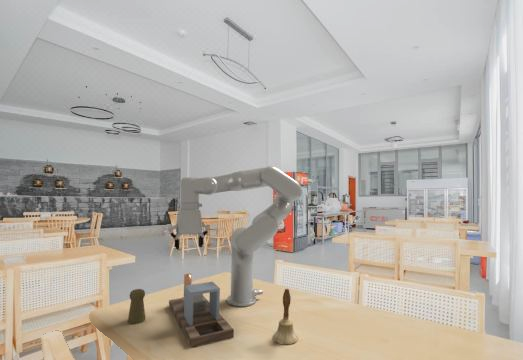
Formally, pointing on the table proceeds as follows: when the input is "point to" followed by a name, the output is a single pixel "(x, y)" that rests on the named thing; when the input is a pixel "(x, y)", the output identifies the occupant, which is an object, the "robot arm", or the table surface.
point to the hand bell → (285, 324)
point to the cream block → (197, 298)
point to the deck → (201, 325)
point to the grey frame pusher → (196, 305)
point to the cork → (136, 307)
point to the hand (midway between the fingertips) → (189, 247)
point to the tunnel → (201, 289)
